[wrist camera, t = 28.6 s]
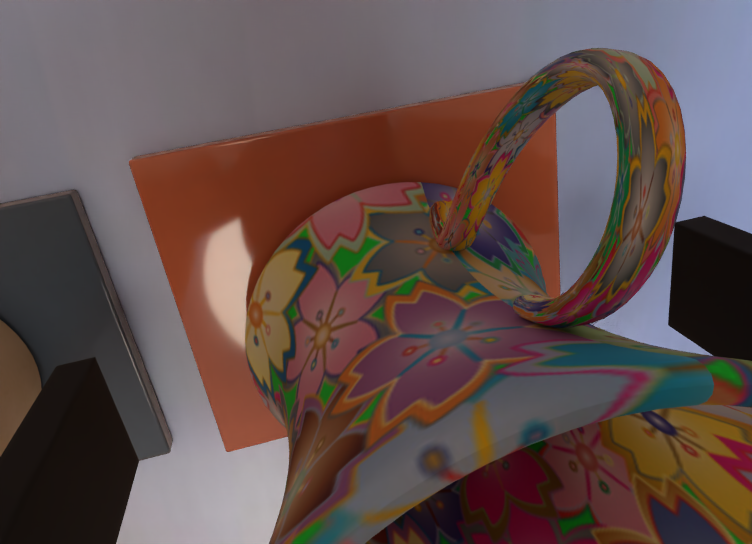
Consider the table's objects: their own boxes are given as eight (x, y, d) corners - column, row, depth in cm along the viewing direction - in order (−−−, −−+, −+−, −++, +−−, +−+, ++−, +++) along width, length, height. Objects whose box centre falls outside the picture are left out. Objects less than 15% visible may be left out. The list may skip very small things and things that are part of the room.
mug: (513, 439, 19) (783, 848, 9) (231, 457, 17) (202, 1002, 7) (593, 64, 15) (1245, 97, 5) (227, 28, 13) (142, -33, 3)
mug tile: (132, 156, 14) (126, 161, 13) (545, 77, 15) (556, 78, 15) (227, 440, 17) (226, 453, 17) (554, 356, 19) (563, 365, 18)
